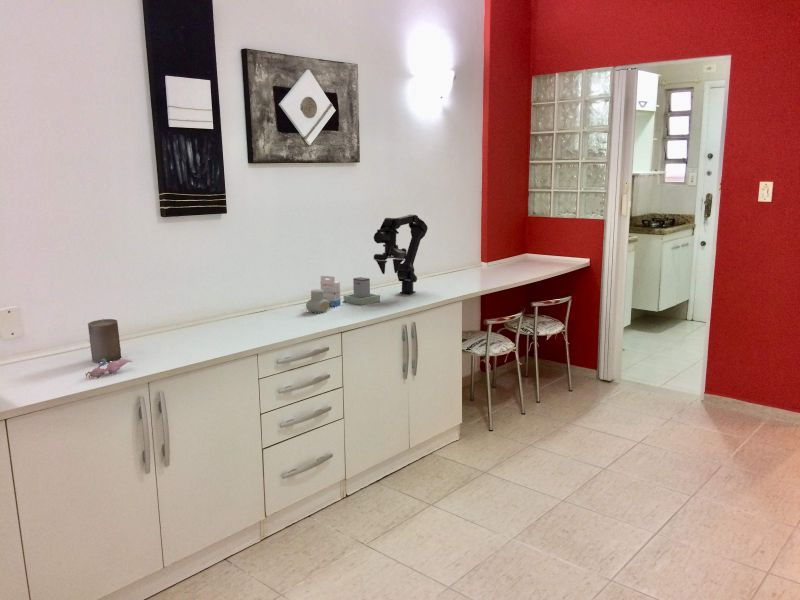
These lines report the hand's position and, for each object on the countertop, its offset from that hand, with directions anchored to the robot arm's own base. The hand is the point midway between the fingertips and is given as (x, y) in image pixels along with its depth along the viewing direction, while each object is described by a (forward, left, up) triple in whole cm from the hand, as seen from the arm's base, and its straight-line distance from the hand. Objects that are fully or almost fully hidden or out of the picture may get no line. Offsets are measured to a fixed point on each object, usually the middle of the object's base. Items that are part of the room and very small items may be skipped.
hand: (389, 273), depth 339 cm
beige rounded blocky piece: (+44, -10, -13) cm, 47 cm away
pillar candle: (+144, -21, -13) cm, 146 cm away
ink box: (+30, -14, -13) cm, 36 cm away
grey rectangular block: (+15, -7, -12) cm, 20 cm away
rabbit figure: (+153, -4, -13) cm, 154 cm away
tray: (+15, -7, -13) cm, 21 cm away
